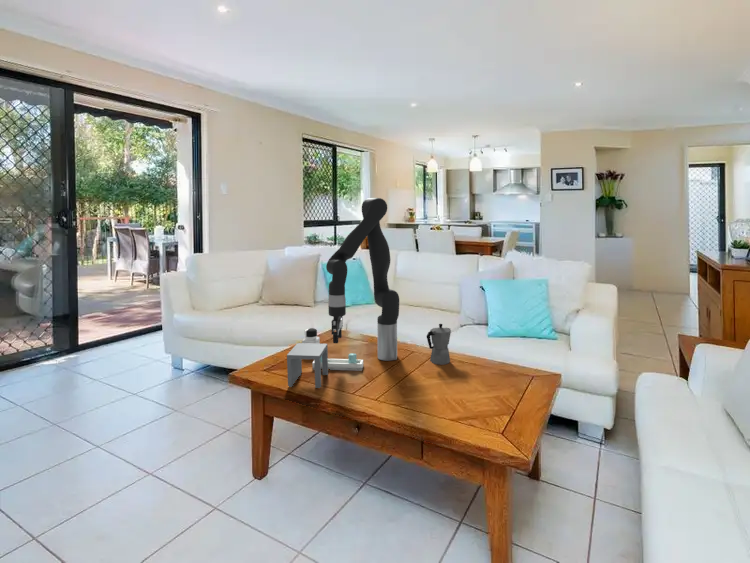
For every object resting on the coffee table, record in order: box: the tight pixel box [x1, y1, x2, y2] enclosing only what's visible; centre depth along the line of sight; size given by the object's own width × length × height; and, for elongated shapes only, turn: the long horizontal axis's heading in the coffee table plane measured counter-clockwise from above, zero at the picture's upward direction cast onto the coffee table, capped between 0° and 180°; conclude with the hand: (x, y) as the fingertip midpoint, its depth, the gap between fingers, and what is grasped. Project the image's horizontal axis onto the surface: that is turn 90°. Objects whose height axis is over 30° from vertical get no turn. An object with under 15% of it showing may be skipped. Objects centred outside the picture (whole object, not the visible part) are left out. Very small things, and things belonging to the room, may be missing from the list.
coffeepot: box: [426, 323, 452, 366], centre depth 206 cm, size 15×9×18 cm, turn 129°
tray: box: [311, 352, 364, 372], centre depth 200 cm, size 22×6×6 cm, turn 85°
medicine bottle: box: [301, 327, 321, 344], centre depth 221 cm, size 7×7×12 cm
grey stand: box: [286, 342, 329, 389], centre depth 185 cm, size 13×16×14 cm
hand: (337, 340), depth 199 cm, fingers open, 8 cm apart
